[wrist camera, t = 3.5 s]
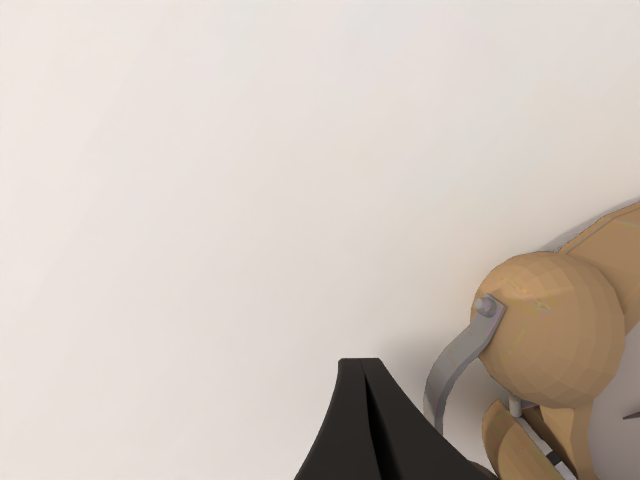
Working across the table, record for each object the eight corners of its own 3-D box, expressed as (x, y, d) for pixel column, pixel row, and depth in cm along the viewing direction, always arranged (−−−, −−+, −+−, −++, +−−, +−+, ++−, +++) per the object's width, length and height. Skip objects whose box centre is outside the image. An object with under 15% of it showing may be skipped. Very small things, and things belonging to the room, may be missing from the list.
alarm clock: (890, 484, 11) (501, 655, 10) (704, 388, 16) (422, 492, 14) (1002, 158, 8) (465, 326, 7) (733, 158, 13) (379, 256, 11)
